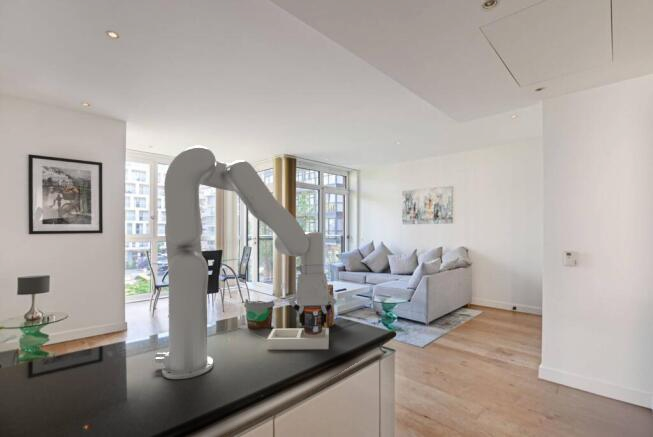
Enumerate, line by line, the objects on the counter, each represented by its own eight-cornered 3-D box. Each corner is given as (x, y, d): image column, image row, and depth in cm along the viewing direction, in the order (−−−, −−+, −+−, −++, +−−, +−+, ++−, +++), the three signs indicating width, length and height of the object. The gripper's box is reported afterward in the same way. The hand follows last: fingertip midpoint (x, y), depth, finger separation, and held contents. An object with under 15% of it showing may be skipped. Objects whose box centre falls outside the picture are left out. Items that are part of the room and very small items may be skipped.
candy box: (324, 322, 123) (324, 283, 124) (334, 323, 121) (334, 284, 122) (314, 329, 115) (314, 287, 116) (325, 330, 113) (324, 288, 114)
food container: (237, 329, 117) (237, 302, 117) (246, 324, 122) (246, 298, 123) (267, 332, 113) (267, 304, 113) (274, 326, 119) (274, 300, 119)
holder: (267, 349, 97) (267, 339, 97) (273, 338, 107) (273, 328, 107) (328, 349, 96) (328, 338, 96) (328, 337, 106) (328, 328, 106)
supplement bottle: (321, 335, 98) (320, 299, 98) (302, 335, 99) (302, 299, 99) (323, 329, 104) (322, 295, 104) (305, 329, 105) (305, 295, 105)
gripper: (284, 271, 98) (284, 329, 98) (338, 270, 98) (339, 328, 98) (287, 268, 106) (288, 321, 105) (338, 267, 106) (339, 321, 105)
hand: (313, 324), depth 101 cm, fingers closed on supplement bottle, 6 cm apart
